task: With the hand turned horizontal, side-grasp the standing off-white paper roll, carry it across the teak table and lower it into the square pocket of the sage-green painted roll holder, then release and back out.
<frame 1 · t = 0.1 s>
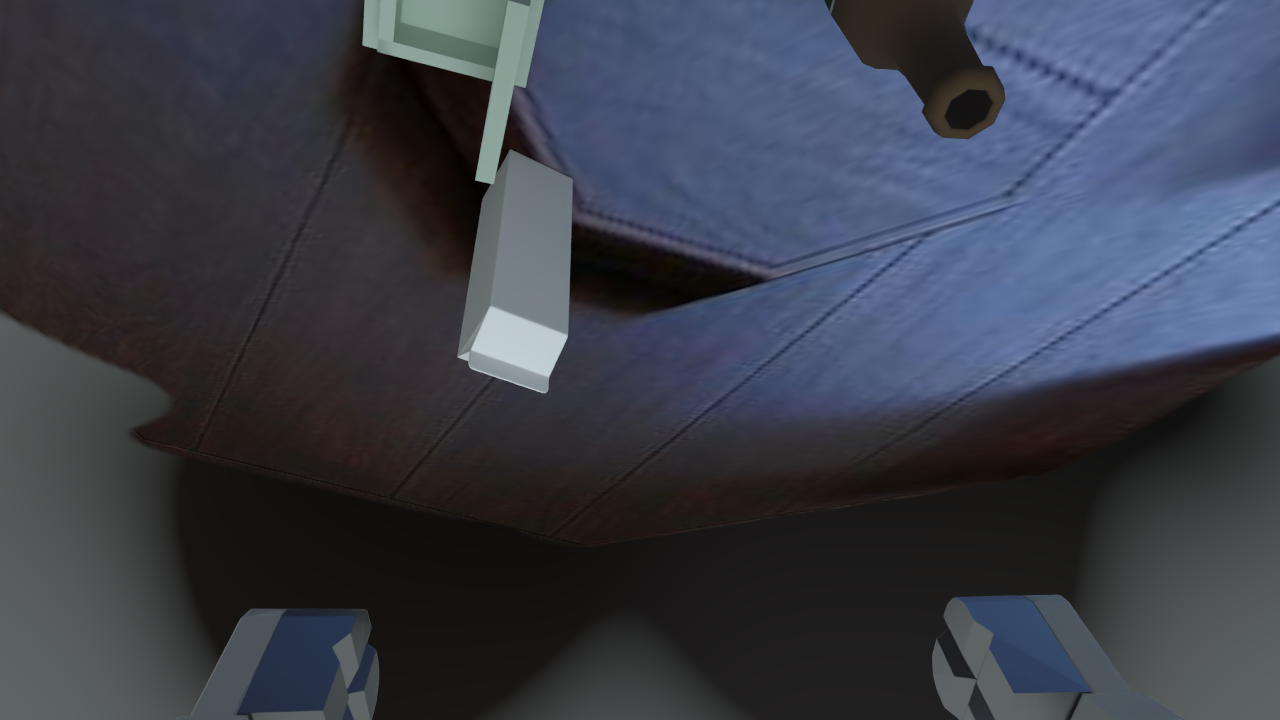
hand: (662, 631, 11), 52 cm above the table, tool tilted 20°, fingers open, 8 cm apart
milk: (527, 187, 67), on the table
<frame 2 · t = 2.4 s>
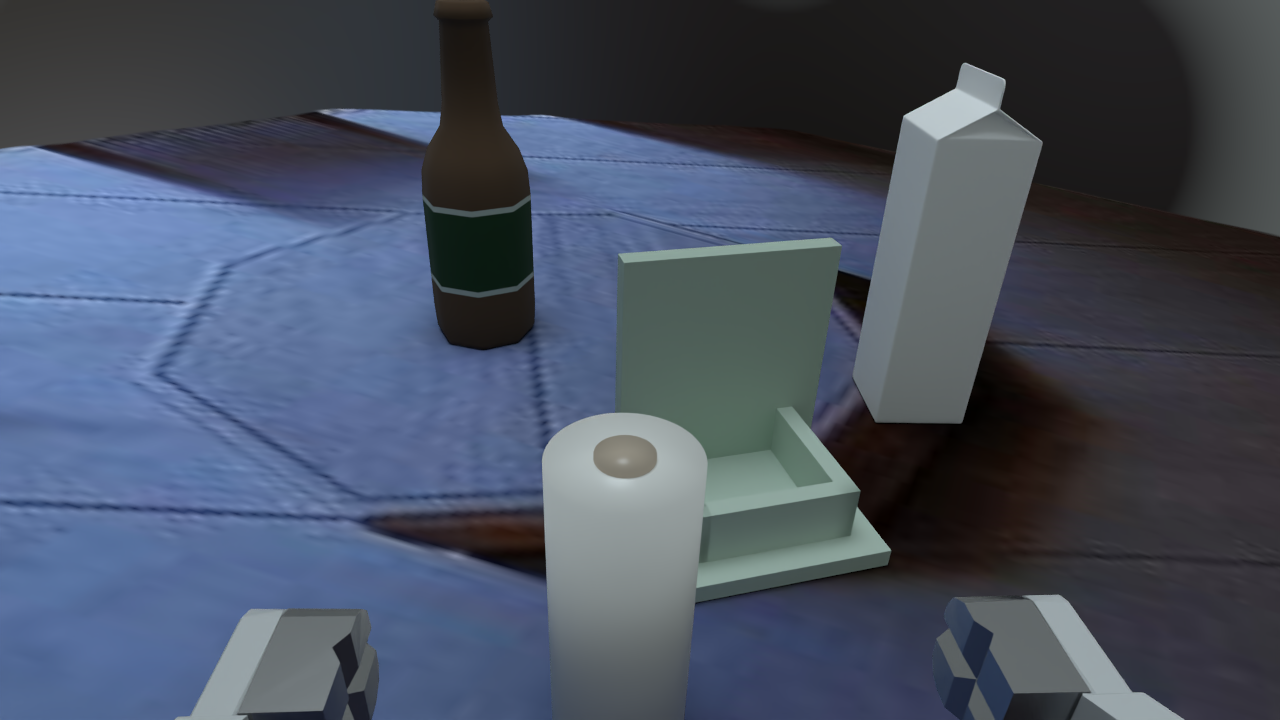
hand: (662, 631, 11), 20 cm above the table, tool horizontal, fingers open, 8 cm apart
beer bottle: (487, 330, 62), on the table
holder: (737, 508, 44), on the table
milk: (903, 402, 54), on the table
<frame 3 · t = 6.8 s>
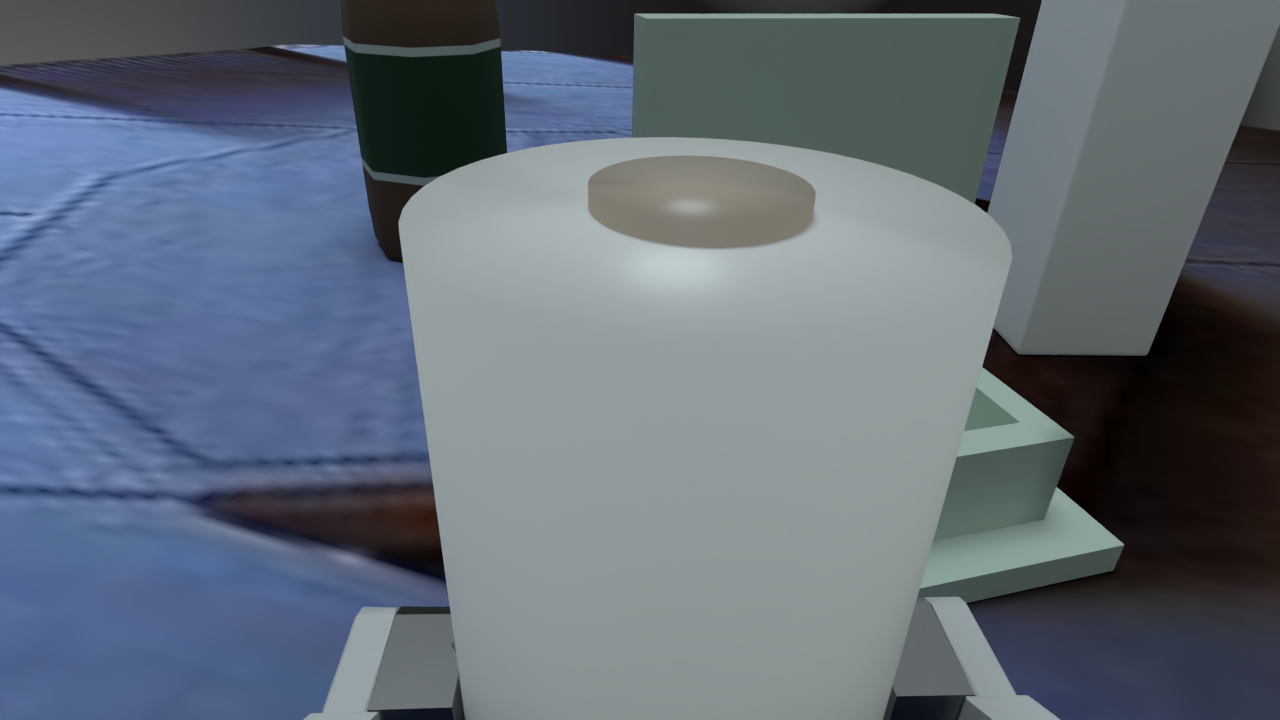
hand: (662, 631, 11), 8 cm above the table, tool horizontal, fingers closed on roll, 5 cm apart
beer bottle: (444, 245, 44), on the table
holder: (832, 477, 26), on the table
milk: (1048, 329, 37), on the table
when the fingers open (10 cm above the table, at t = 12.5 s): roll drops 1 cm, resting on holder.
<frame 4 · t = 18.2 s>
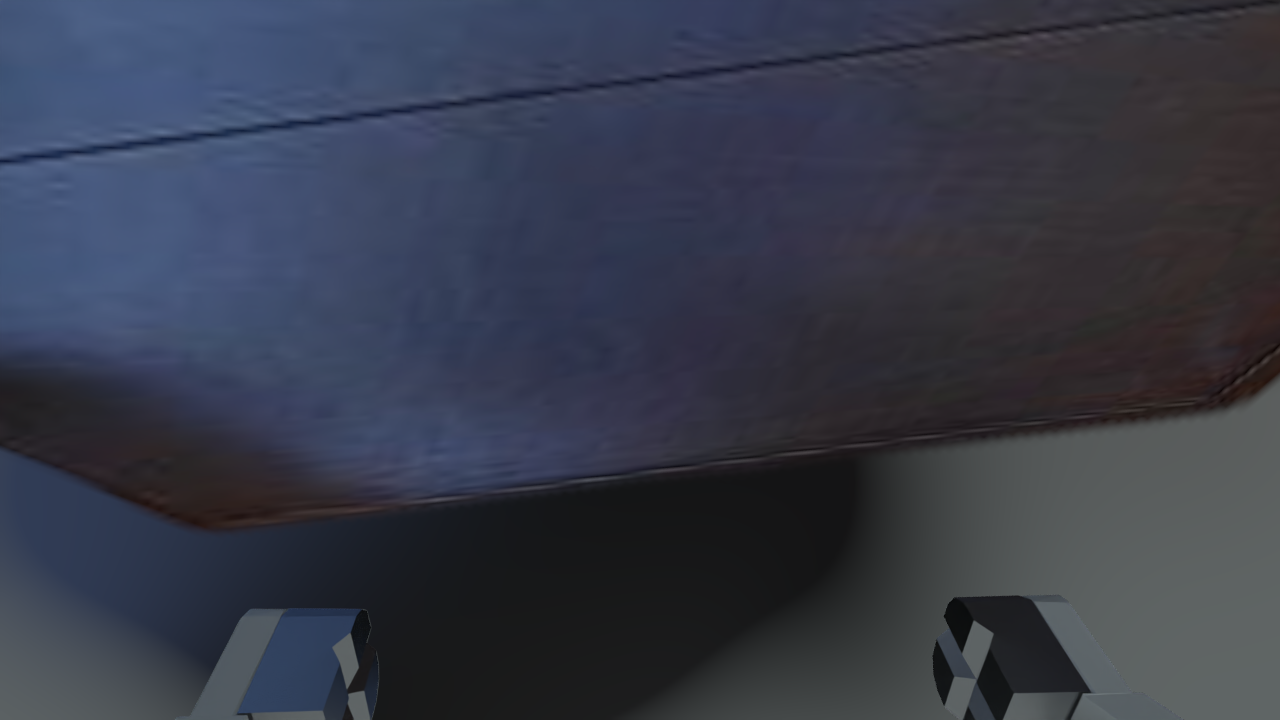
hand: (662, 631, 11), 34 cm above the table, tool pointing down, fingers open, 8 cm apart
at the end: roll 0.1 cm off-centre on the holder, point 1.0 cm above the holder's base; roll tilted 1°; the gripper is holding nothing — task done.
